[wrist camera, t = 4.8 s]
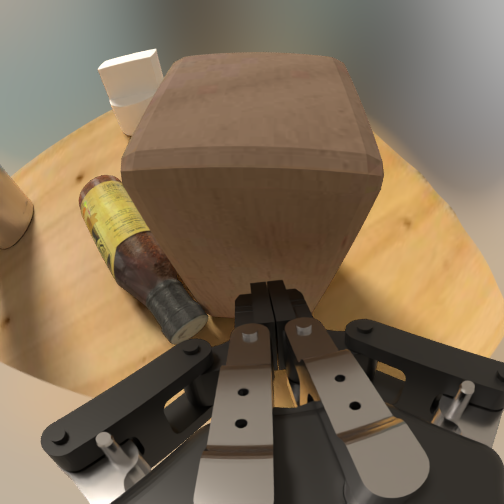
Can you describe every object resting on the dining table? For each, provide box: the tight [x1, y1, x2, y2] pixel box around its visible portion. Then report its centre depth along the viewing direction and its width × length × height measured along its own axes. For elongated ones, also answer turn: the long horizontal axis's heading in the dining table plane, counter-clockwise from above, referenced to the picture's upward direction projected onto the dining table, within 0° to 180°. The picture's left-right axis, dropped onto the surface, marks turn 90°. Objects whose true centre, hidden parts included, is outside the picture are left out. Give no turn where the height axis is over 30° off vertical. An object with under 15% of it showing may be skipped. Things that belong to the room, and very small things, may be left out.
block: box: [121, 52, 384, 318], centre depth 20 cm, size 10×10×20 cm
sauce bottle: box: [79, 175, 208, 344], centre depth 27 cm, size 7×6×20 cm
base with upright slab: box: [98, 49, 164, 136], centre depth 36 cm, size 9×9×12 cm
